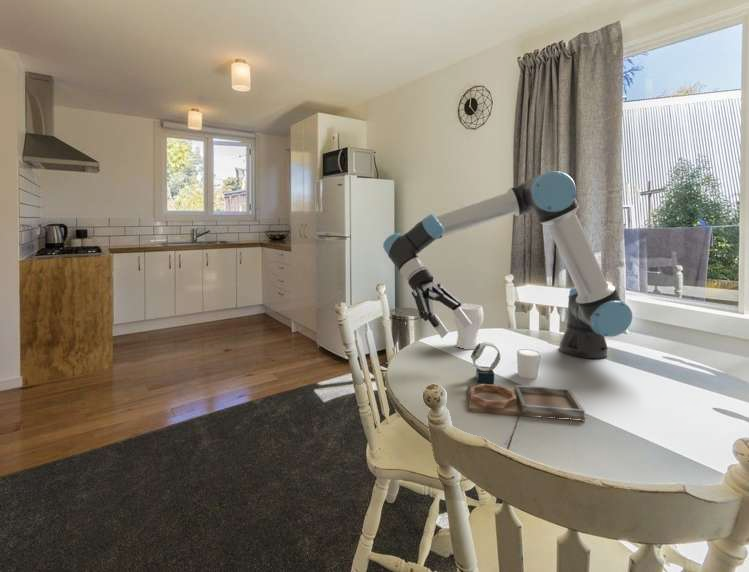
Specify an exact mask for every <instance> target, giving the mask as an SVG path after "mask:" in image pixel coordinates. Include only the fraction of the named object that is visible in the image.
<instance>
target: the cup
mask: <svg viewBox="0 0 749 572" xmlns="http://www.w3.org/2000/svg"><path fill="white" fill-rule="evenodd" d="M460 308H461V309H462V311H463V312H464V313H465V315H466V316H467V317H468V319H469V320H470V321H471V323H472V324H471V325H470V326H468V327H467V328H466V329H465V328H464V327H463V325H462V324H461V323H460V321H459V320H458V319H457V317H456V316H455V315H454V313H453V312H452V313H453V315H452V316H453V322H454V325H455V327H456V330H457V331H456V332H457V337H456V343H455V346H456V347H457V348H458V347H460V348H459V349H461V348H464V349H463V350H474V349H475V347H476V346H477V345H478V344H479V343H478V333H479V330H480V328H481V327H482V326H483V325H482V324H483V323H484V310H483V306H482V305H480V304H475V303H462V305H461V306H460Z"/></svg>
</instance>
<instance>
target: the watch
mask: <svg viewBox="0 0 749 572" xmlns="http://www.w3.org/2000/svg"><path fill="white" fill-rule="evenodd" d="M487 346H488V347H492V348H494V350H496V351H497V353H496V356H495V359H494V360H493V362H492V363H491V365H490V366H481V365H478V364H476V360H478V359H480V357H481V356H482V354H483V353H484V349H485V348H486V347H487ZM470 358H471V360H472V364H473V366H474V367H475V369H476V370H475V371H476V372H475V377H476V381H477V385H480V384H492V385H495V384H494V382H495V372H494V370H495V369H496V368H497V366H498V365H499V363H500V362H501V361H500V360H501V353H500V350H499V349H498V347H497V346H496V345H495V344H494V343H491V342H486V341H485V342H481V343H478V345H477V346H476V347H475V349H472V352H471V354H470ZM479 383H480V384H479Z"/></svg>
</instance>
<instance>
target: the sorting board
mask: <svg viewBox="0 0 749 572" xmlns="http://www.w3.org/2000/svg"><path fill="white" fill-rule="evenodd" d="M467 400H468V411H469V412H474V413H483V414H495V415H508V416H516V415H519V416H520V415H521V416H520V417H527V416H541V417H553V418H554V417H555V418H569V419H570V418H571V419H581V420H585V421H586V417H585V412H586V411H585V409H584V408H583V406H582V405H581V404H580V402H579V401H578V399H577V398H576V396H575V395H574V394H573V392H572V391H571V388H558V387H546V386H545V387H544V386H532V385H531V386H530V385H522V384H521V385H520V384H519V385H518V384H515V385H514V389H510V388H509V387H505V386H504V385H500V384H477V385H474V386H470V385H469V386H467ZM519 416H518V417H519Z"/></svg>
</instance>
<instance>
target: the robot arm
mask: <svg viewBox="0 0 749 572" xmlns="http://www.w3.org/2000/svg"><path fill="white" fill-rule="evenodd" d="M576 195H577V186H576V184H575V181H574V180H573V178H572V177H571V176H570V175H568V174H567V173H565V172H562V171H558V170H557V171H556V170H554V171H553V170H551V171H546V172H543V173H541V174H540V175H536V176H533V177H532V178H530V179H528V180H527V181H525V182H522V183H521V184H517V185H516V186H513V187H510V188H508V190H507V192H504V193H502V194H498V195H496V196H493V197H490V198H488V199H484V200H481V201H479V202H476V203H472V204H469V205H466V206H463V207H460V208H458V209H455V210H452V211H448V212H446V213H443V214H439V215H437V216H435V215H434V214H432V213H431V214H428V215H427V216H425V217H424V218H423V219H421V220H420V221H419V222H417V223H416V224H415V225H414V226H413V227H412V228H411V229H410V230H408V231H407V232H406V233H405V234H402V233H401V232H395V233H393V234H390V235H389V236H388V237H386V239H384V241H383V245H382V247H383V250H384V251H385V253H386V254H387V257H388V258H389V259H390V260H391V262H392V263H393V265H394V266H395V267H396V268H397V270H398V271H399V272H400V274H401V275H402V276H403V277H402V278H404V279H405V281H406V282H408V285H409V287H410V288H411V289H412V291H411V295H412V297H413V298H414V301H415V304H416V307H417V311H418V314H419V317H420V319H421V320H422V319H423V320H424V321H425V322H427V321H429V323H430V324H431V326H432V327H433V328H434V329H435V331H436V332H437V333H438V335H439V336H440V338H441V339H442V338H444V337H445V336H447V334H449V333H450V331H449V330H448V329H447V326H445V324H444V323H443V321H442V320H441V319H440V318H439V316H438V315H437V314H436V313H434V309H433V301H436V302H440V303H441V304H443V305H444V306H446V307H447V308H448V309H451V310H452V313H454V315H455V316H456V317H457V319H458V320H459V321H460V323H461V324H462V325H463V327H464V328H465V329H466V328H467V327H468V326H470V325H471V324H472V323H471V321H470V320H469V319H468V317H467V316H466V315H465V313H464V312H463V311H462V309H461V308H460V306H461V305H462V304H463V302H462V301H460V300H459V298H457V297H456V296H455V295H453V294H452V293H451V292H450V291H449V290H448V289H446V288H445V287H444V286H443V285H442V283H440V282H438V283H437V284H436V285H435V284H434V282H433V281H434V276H433V274H432V273H431V272H430V271H429V269H427V267H426V265H425V264H424V263H423V261H422V260H421V259H420V257H419V256H418V254H419V253H421V251H423V250H424V249H426V247H429V246H430V245H431V244H432V243H433V242H434V241H436V240H439V239H441V238H444V237H447V236H451V235H453V234H457V233H459V232H463V231H466V230H470V229H472V228H475V227H478V226H482V225H484V224H488V223H491V222H494V221H496V220H500V219H504V218H507V217H509V216H512V215H514V216H516V217H519V216H521V215H525V214H530V213H531V214H532V213H535V215H536V217H537V219H538V221H539V223H540V224H541V225H545V226H546V227H547V229H548V231H549V233H550V235H551V237H552V238H553V241H554V243H555V245H556V248H557V250H558V253H559V254H560V256H561V259H562V261H563V263H564V265H565V268H566V269H567V271H568V275H569V276H570V278H571V281H572V283H573V285H574V287H572V288H570V290H569V295H568V296H567V297H568V306H567V307H568V308H567V317H566V318H567V319H566V328H565V330H564V333H563V335H562V338H561V340H560V341H559V348H558V349H559V351H561V353H564V354H567V355H569V356H572V357H576V358H577V357H578V358H584V359H603V358H606V357H607V356H608V353H609V352H608V351H609V348H608V345H607V340H606V337H608V338H610V337H611V338H612V337H617V336H619V335H621V334H623V333H625V332H626V331H627V330H628V329H629V328H630V325H631V324H632V322H633V311H632V309H631V308H630V306H629V305H628V304H627V303H626V302H624V301H622V300H621V298H620V296H619V294H618V290H617V288H616V287H615V286H614V285H613V284H612V285H611V284H610V283H608V282H607V280H606V277H605V275H604V273H603V270H602V269H601V266H600V264H599V262H598V260H597V258H596V255H595V253H594V251H593V249H592V246H591V244H590V242H589V240H588V238H587V236H586V233H585V231H584V228H583V226H582V225H581V221H580V219H579V218H578V215H577V212H578V210H579V208H580V206H579V204H578V201H577V198H576Z"/></svg>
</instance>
